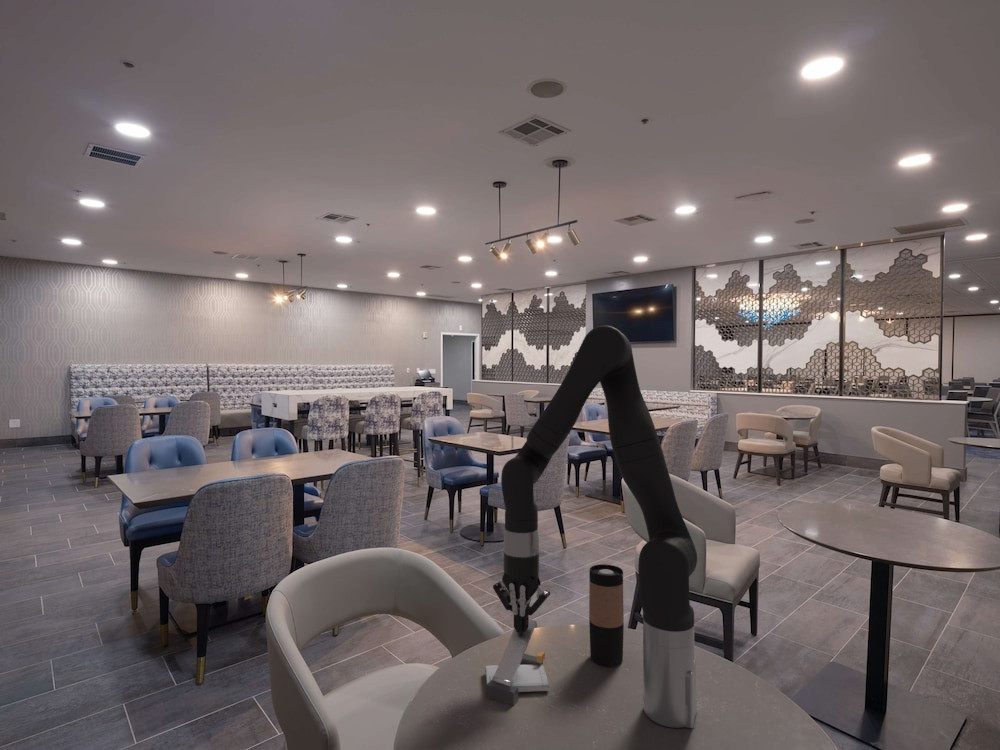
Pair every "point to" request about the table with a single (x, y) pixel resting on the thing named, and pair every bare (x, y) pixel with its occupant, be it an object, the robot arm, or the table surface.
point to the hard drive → (524, 678)
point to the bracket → (511, 693)
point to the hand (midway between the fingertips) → (520, 631)
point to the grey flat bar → (513, 656)
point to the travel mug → (606, 615)
